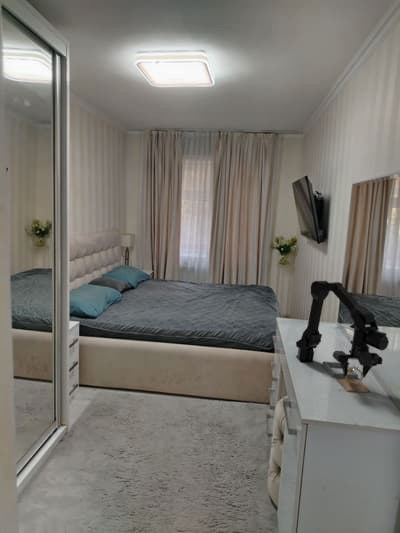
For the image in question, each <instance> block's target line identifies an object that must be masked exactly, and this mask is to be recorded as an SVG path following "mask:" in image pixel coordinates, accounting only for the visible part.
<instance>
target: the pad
mask: <svg viewBox="0 0 400 533" xmlns="http://www.w3.org/2000/svg"><path fill="white" fill-rule="evenodd" d="M335 380H336V381H337V382H338V384H340V386H341V387H342V388H343V389H344V390H345V391H346V392H348V393H349V392H350V393H351V392H352V393H367V394H368V393H369V394H370V393H372V391H371V390H370V389H369V388H368V387H367V386H366V385H365V384H364V383H363V382H362V381H361V382H360V383H359V384H354V385H352V384H350V383H349V382H348V381H347V380H346V379H345V378H335ZM348 380H349V381H351V382H358V381H359V380H360V379H348Z"/></svg>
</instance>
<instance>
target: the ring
mask: <svg viewBox="0 0 400 533" xmlns="http://www.w3.org/2000/svg"><path fill="white" fill-rule="evenodd" d="M351 371H357V372H358V373H359V374H360V379H358V380H359V381H358V382H351V381H349V380H348V379H347V375H346V377H345V378H346V380H347V381H348V382H349V383H350V384H352V385H354V384H359V383H360V382H362V381H363V374H362V371H363V370H361V369H359V366H356V365H352V366H349V368H348V369H347V374H350V373H349V372H351ZM345 378H344V379H345Z"/></svg>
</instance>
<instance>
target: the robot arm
mask: <svg viewBox="0 0 400 533" xmlns="http://www.w3.org/2000/svg"><path fill="white" fill-rule="evenodd" d="M330 292H332V293H333V294H334V295H335V296H336V297H337V299H338V300H339V301H340V302H341V304H343V306H344V307H345V308H346V309H347V310H348V313H349V315H350V318H351V320H352V321H353V324H351V325H349V328H351V329H353V334H352V335H353V337H352V340H350V344H351V348H350V349H349V350H348V353H349V354H348V353H346V352H345V351H343V350H334V352H332V357H333V358H334V359H335V360H336V362H340V363H341V366H342V367H341V369H342V373H344V376H345V377H346V375H347V369H348V366H349V365H350V362H349V360H356V361H358V363H359V365H361V366H362V370H361V371H362V374H363V378H365V377H366V376H367V375H368V373H369V371H370V370H371V369H372V368H373V367H376V366H378V365H382V364H383V357H382V356H380V355H379V354H378V353H376V352H370V347H372V348H374V349H376V350H379V351H382V352H383V351H384V350H386V349H387V348H388V346H389V338H388V336H387V333H386V332H382V331H379V326H378V324H377V322H376V319H375V315H374V313H373V312H372V311H370V310H369V309H368V308H366V306H362V305H361V304H359V303H358V301H357V300H356V299H355V298H354V297H353V296H352V295H351V293H350V292H349V291H348V290H347V289H346V288H345V287H344V285H343V283H341V282H339V281H334V282H329V281H327V280H315V281H312V282H311V284H310V295H311V297H312V300H311V306H310V311H309V317H308V322H307V327H306V329H305V330H304V331H303V333H302V335H301V337H300V339H299V340H297V341H296V342H295V344H296V345H295V346H296V348H297V355H295V357H296V358H297V359H298V361H299V362H300V363H314V355H315V351H314V349H316V348H317V347H318V346H319V345H320V343H321V342H322V337H323V334H322V333H320V331H319V326H320V323H321V322H320V321H321V316H322V311H323V306H324V302H325V300H326V299H327V297H328V296H329V295H330V294H329V293H330Z"/></svg>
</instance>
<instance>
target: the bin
mask: <svg viewBox="0 0 400 533" xmlns="http://www.w3.org/2000/svg"><path fill="white" fill-rule="evenodd" d="M322 366H323V368H324V369H325V370H326V372H328V373H329V374H330V376H331V377H332V378H334V379H346V378H345V376H344V373H343V372H342V373H341V372H335V371H334V370H333V369H332V368H331V367H334V368H342V366H341V363H340V362H338V361H322ZM349 367H350V366H349V365H348V368H349ZM358 374H359V373H357V372H356V371H355V370H353V371H351V372H349V373H348V374H347V379H356V380H358V377H359V375H358Z"/></svg>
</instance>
